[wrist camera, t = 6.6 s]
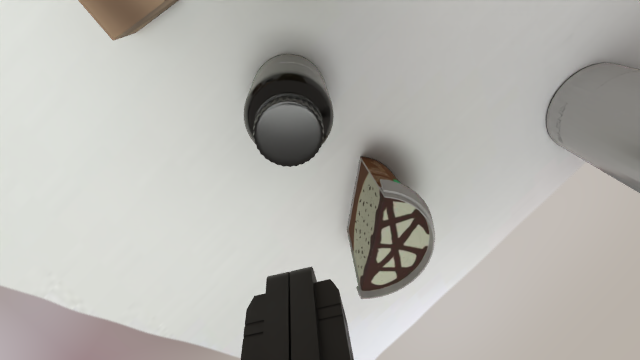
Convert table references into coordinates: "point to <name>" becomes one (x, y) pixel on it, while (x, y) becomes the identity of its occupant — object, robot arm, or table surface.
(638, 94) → the robot arm
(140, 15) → the walnut block
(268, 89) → the supplement bottle
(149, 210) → the table surface
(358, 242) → the food container
